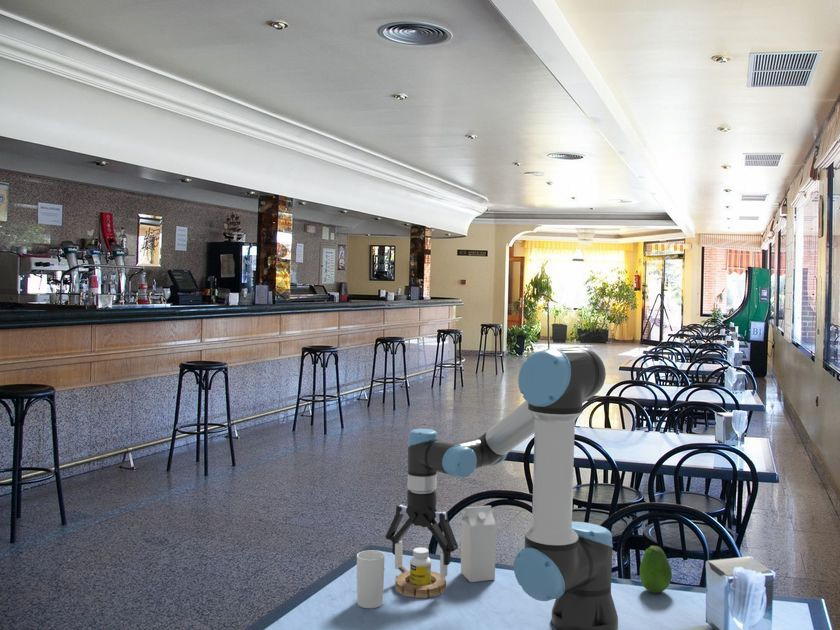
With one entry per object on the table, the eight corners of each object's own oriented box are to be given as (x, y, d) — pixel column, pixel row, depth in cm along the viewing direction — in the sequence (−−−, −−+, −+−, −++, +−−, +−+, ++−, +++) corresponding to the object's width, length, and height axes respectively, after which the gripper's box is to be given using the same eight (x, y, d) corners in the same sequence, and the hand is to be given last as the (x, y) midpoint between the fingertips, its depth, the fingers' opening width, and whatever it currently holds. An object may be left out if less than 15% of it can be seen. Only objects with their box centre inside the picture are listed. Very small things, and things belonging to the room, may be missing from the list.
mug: (379, 610, 184) (380, 561, 183) (352, 607, 185) (353, 558, 185) (389, 593, 194) (390, 547, 193) (364, 591, 195) (364, 544, 195)
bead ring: (454, 583, 201) (454, 575, 201) (431, 601, 189) (431, 593, 189) (410, 574, 207) (410, 566, 207) (386, 590, 195) (386, 583, 195)
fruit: (677, 593, 197) (679, 547, 196) (659, 601, 192) (660, 553, 191) (650, 583, 203) (652, 538, 202) (632, 590, 198) (633, 544, 197)
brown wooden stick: (412, 577, 204) (412, 575, 204) (410, 578, 204) (410, 576, 204) (399, 564, 214) (399, 562, 214) (396, 565, 213) (396, 563, 213)
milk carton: (460, 573, 208) (461, 503, 208) (484, 570, 210) (486, 502, 210) (470, 582, 202) (471, 511, 201) (495, 580, 204) (496, 509, 203)
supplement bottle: (406, 588, 197) (406, 551, 197) (416, 581, 202) (416, 545, 201) (424, 593, 195) (425, 555, 194) (434, 585, 199) (434, 548, 199)
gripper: (471, 492, 195) (470, 575, 196) (387, 480, 206) (386, 558, 207) (459, 500, 188) (457, 586, 189) (373, 486, 199) (372, 567, 200)
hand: (420, 571), depth 198 cm, fingers open, 12 cm apart
